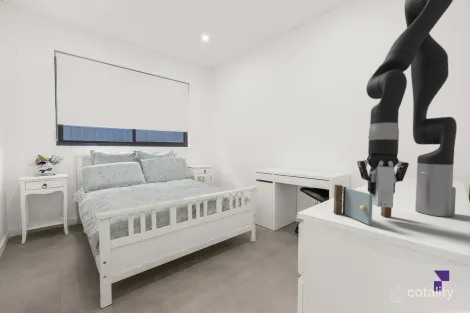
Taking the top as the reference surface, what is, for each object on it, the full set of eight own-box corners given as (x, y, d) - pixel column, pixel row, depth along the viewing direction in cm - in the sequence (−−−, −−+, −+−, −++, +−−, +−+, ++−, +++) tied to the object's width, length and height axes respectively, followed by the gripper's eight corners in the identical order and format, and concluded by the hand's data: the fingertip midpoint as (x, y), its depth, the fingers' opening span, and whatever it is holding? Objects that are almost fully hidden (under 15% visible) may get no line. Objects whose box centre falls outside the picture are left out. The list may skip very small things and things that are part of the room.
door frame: (387, 215, 70) (388, 186, 70) (391, 217, 68) (392, 187, 68) (333, 212, 73) (334, 184, 73) (335, 214, 71) (336, 185, 71)
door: (371, 224, 60) (372, 194, 60) (365, 224, 60) (366, 194, 60) (347, 213, 70) (348, 188, 70) (342, 214, 70) (343, 188, 70)
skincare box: (393, 208, 62) (395, 167, 62) (377, 207, 63) (378, 166, 63) (383, 203, 68) (384, 166, 68) (368, 202, 69) (370, 165, 69)
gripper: (363, 137, 63) (361, 195, 63) (417, 138, 61) (415, 198, 61) (353, 139, 70) (351, 191, 70) (400, 140, 68) (398, 193, 68)
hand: (380, 194), depth 66 cm, fingers closed on skincare box, 4 cm apart
